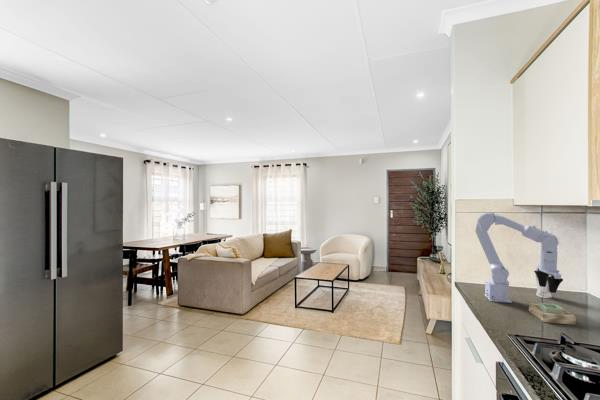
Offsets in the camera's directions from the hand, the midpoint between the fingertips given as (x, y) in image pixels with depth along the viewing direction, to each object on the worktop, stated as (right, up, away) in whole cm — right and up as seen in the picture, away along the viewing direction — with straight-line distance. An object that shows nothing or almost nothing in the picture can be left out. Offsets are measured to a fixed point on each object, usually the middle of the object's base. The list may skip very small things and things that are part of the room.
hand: (547, 289), depth 131 cm
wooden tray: (-5, -10, -7) cm, 13 cm away
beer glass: (+12, -9, +16) cm, 22 cm away
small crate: (-5, -9, -7) cm, 13 cm away
